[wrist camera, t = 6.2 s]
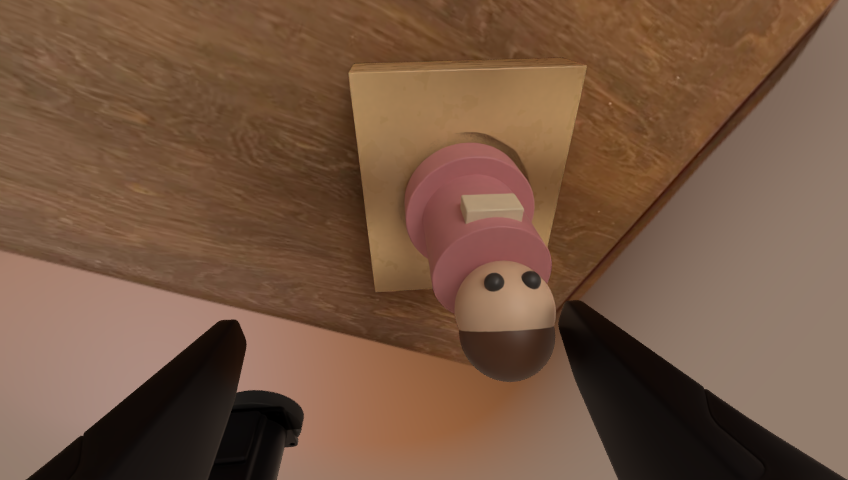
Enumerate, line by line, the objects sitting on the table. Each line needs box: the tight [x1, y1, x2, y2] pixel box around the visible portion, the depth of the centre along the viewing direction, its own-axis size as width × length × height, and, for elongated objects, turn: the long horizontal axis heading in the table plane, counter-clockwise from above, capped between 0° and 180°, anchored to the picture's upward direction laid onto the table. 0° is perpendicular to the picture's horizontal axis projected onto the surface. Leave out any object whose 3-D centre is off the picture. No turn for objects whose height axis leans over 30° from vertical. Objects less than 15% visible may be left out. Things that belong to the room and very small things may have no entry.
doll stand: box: [348, 58, 587, 292], centre depth 19 cm, size 12×10×2 cm
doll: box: [404, 143, 556, 382], centre depth 14 cm, size 6×6×10 cm
